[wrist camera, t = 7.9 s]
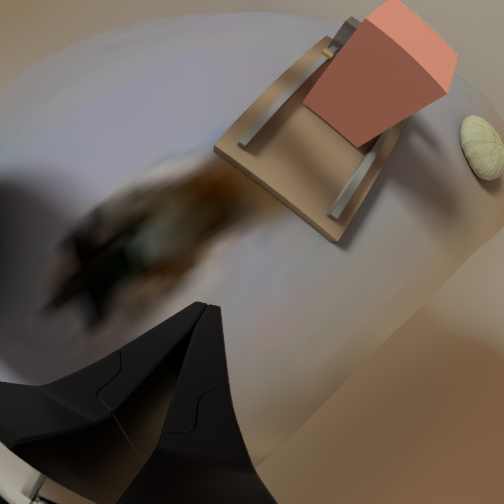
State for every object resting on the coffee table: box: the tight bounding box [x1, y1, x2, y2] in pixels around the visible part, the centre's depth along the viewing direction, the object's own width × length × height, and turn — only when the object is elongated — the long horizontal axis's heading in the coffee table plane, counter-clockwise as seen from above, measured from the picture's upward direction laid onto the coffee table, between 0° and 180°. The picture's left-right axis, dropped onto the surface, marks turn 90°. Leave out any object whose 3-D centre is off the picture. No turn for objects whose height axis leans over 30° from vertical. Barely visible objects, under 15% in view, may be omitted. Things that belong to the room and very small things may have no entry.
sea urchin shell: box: [460, 116, 504, 181], centre depth 25 cm, size 9×8×8 cm
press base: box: [214, 17, 409, 242], centre depth 19 cm, size 18×12×6 cm, turn 144°
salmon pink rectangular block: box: [302, 0, 458, 148], centre depth 15 cm, size 6×6×11 cm
